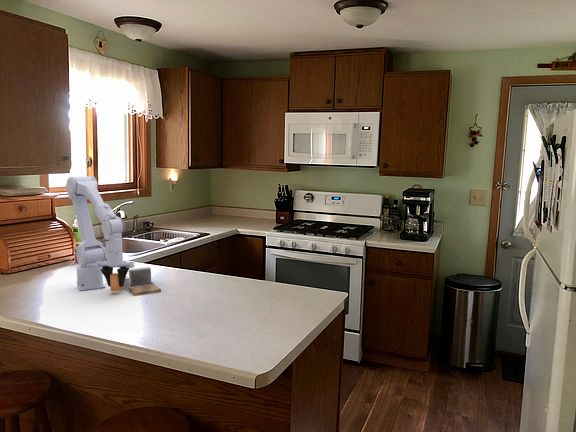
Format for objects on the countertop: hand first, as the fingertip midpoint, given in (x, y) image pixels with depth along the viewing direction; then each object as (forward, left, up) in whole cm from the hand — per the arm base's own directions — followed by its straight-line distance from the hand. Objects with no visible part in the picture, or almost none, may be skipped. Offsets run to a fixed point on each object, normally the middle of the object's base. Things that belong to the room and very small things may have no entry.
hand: (116, 286), depth 180 cm
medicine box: (0, +63, -3) cm, 63 cm away
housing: (+11, +9, -3) cm, 14 cm away
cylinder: (0, 0, -1) cm, 1 cm away
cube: (+4, +5, -3) cm, 7 cm away
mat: (+10, -2, -3) cm, 11 cm away
